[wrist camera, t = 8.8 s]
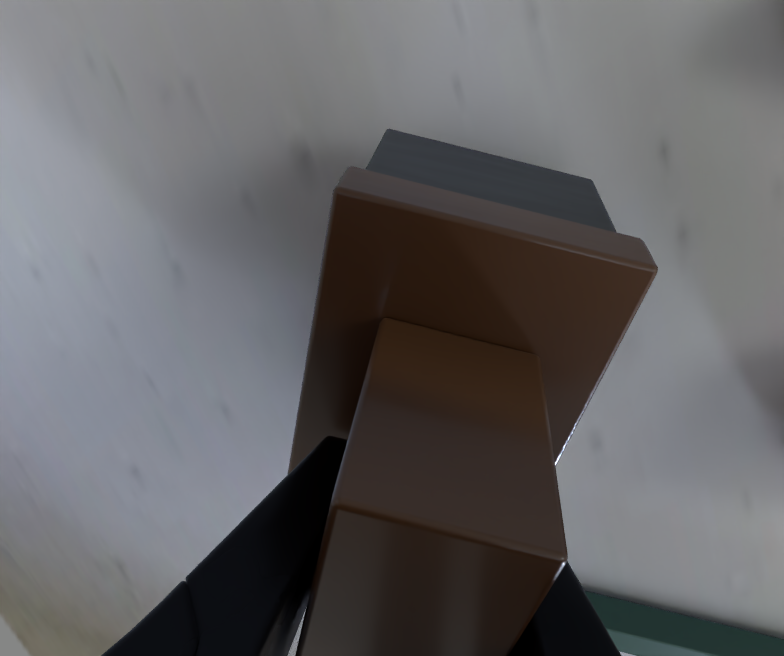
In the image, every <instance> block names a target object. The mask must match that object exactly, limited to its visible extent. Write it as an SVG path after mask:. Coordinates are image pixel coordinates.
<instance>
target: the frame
mask: <svg viewBox="0 0 784 656" xmlns="http://www.w3.org/2000/svg"><path fill="white" fill-rule="evenodd" d="M585 593H586V595H587V597H588V598H589V600H590V602H591V604H592V605H593V607H594V609H595V611H596V612H597V614H598V616H599V618H600V619H601V621H602V623H603V624H604V626H605V628H606V630H607V631H608V633H609V635H610V637H611V638H612V640H613V642H614V644H615V645H616V647H617V649H618V651H620V652H624V653H628V654H632V655H637V656H784V639H780V638H776V637H772V636H768V635H764V634H760V633H756V632H752V631H748V630H743V629H739V628H735V627H731V626H727V625H723V624H719V623H715V622H711V621H707V620H702V619H698V618H694V617H690V616H686V615H682V614H678V613H674V612H670V611H666V610H662V609H657V608H653V607H649V606H645V605H641V604H637V603H633V602H629V601H625V600H621V599H616V598H612V597H608V596H604V595H600V594H596V593H592V592H588V591H585Z"/></svg>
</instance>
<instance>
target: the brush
mask: <svg viewBox="0 0 784 656" xmlns="http://www.w3.org/2000/svg"><path fill="white" fill-rule="evenodd" d="M657 272H658V267H657V265H656V263H655V261H654V260H653V258H652V256H651V254H650V252H649V250H648V249H647V247H646V245H645V243H644V241H643V240H641V239H640V238H636V237H632V236H628V235H624V234H620V233H617V232H616V230H615V228H614V226H613V224H612V221H611V219H610V217H609V215H608V213H607V211H606V209H605V207H604V204H603V202H602V200H601V198H600V196H599V194H598V192H597V189H596V187H595V185H594V183H593V181H592V180H591V179H587V178H583V177H579V176H575V175H571V174H567V173H563V172H559V171H555V170H551V169H547V168H543V167H539V166H535V165H531V164H527V163H523V162H519V161H515V160H511V159H507V158H503V157H499V156H495V155H491V154H487V153H483V152H479V151H475V150H471V149H467V148H463V147H460V146H456V145H452V144H448V143H444V142H440V141H436V140H432V139H428V138H424V137H420V136H416V135H412V134H408V133H404V132H400V131H396V130H392V129H387V130H386V132H385V133H384V135H383V137H382V139H381V141H380V143H379V145H378V147H377V149H376V150H375V152H374V154H373V156H372V158H371V160H370V162H369V164H368V166H367V168H366V169H361V168H357V167H353V166H352V167H348V168H347V169H346V171H345V172H344V174H343V176H342V177H341V179H340V180H339V182H338V184H337V185H336V187H335V189H334V190H333V196H332V202H331V208H330V214H329V220H328V227H327V233H326V239H325V245H324V251H323V258H322V264H321V270H320V276H319V283H318V289H317V295H316V301H315V307H314V314H313V320H312V326H311V332H310V339H309V345H308V351H307V357H306V363H305V370H304V376H303V382H302V388H301V394H300V401H299V407H298V413H297V419H296V426H295V432H294V438H293V444H292V450H291V457H290V463H289V469H288V474H289V473H290V472H291V471H292V470H293V469H294V468H295V467H296V466H297V465H298V464H299V463H300V462H301V461H302V460H303V459H304V458H305V457H306V456H307V455H308V454H309V453H310V452H311V451H312V450H313V449H314V448H315V447H316V446H317V445H318V444H319V443H320V442H321V441H322V440H323V439H324V438H325V437H327V436H334V437H338V438H342V439H346V440H347V444H346V448H345V451H344V455H343V459H342V462H341V466H340V470H339V473H338V477H337V481H336V484H335V488H334V491H333V495H332V499H331V503H330V507H329V512H328V516H327V520H326V525H325V529H324V533H323V538H322V542H321V546H320V551H319V555H318V560H317V564H316V568H315V573H314V577H313V581H312V586H311V590H310V594H309V599H308V603H307V608H306V612H305V616H304V621H303V625H302V629H301V634H300V638H299V642H298V647H297V651H296V655H295V656H509V654H510V653H511V651H512V649H513V648H514V646H515V645H516V643H517V641H518V640H519V638H520V637H521V635H522V633H523V632H524V630H525V629H526V627H527V625H528V624H529V622H530V621H531V619H532V617H533V616H534V614H535V612H536V611H537V609H538V608H539V606H540V604H541V603H542V601H543V600H544V598H545V596H546V595H547V593H548V592H549V590H550V588H551V587H552V585H553V584H554V582H555V580H556V579H557V577H558V576H559V574H560V572H561V571H562V569H563V568H564V566H565V564H566V562H567V559H568V556H567V547H566V540H565V533H564V526H563V519H562V511H561V504H560V497H559V490H558V483H557V476H556V468H555V466H556V464H557V462H558V461H559V459H560V457H561V455H562V453H563V451H564V449H565V447H566V445H567V443H568V441H569V440H570V438H571V436H572V434H573V432H574V430H575V428H576V426H577V424H578V422H579V421H580V419H581V417H582V415H583V413H584V411H585V409H586V407H587V405H588V403H589V402H590V400H591V398H592V396H593V394H594V392H595V390H596V388H597V386H598V384H599V382H600V381H601V379H602V377H603V375H604V373H605V371H606V369H607V367H608V365H609V363H610V362H611V360H612V358H613V356H614V354H615V352H616V350H617V348H618V346H619V344H620V343H621V341H622V339H623V337H624V335H625V333H626V331H627V329H628V327H629V325H630V323H631V322H632V320H633V318H634V316H635V314H636V312H637V310H638V308H639V306H640V304H641V303H642V301H643V299H644V297H645V295H646V293H647V291H648V289H649V287H650V285H651V284H652V282H653V280H654V278H655V276H656V274H657Z"/></svg>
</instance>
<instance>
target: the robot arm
mask: <svg viewBox="0 0 784 656" xmlns="http://www.w3.org/2000/svg"><path fill="white" fill-rule="evenodd" d="M346 444H347V440H346V439H342V438H338V437H334V436H327V437H325V438H324V439H323V440H322V441H321V442H320V443H319V444H318V445H317V446H316V447H315V448H314V449H313V450H312V451H311V452H310V453H309V454H308V455H307V456H306V457H305V458H304V459H303V460H302V461H301V462H300V463H299V464H298V465H297V466H296V467H295V468H294V469H293V470H292V471H291V472H290V473H289V474H288V475H287V476H286V477H285V478H284V479H283V480H282V481H281V482H280V483H279V484H278V485H277V486H276V487H275V488H274V489H273V490H272V491H271V492H270V493H269V494H268V495H267V496H266V497H265V498H264V499H263V500H262V501H261V502H260V503H259V504H258V505H257V506H256V507H255V508H254V509H253V510H252V511H251V512H250V513H249V514H248V515H247V516H246V517H245V518H244V519H243V520H242V521H241V522H240V523H239V525H238V526H237V527H236V528H235V529H234V530H233V531H232V532H231V533H230V534H229V535H228V536H227V537H226V538H225V539H224V540H223V541H222V542H221V543H220V544H219V545H218V546H217V547H216V548H215V549H214V550H213V551H212V552H211V553H210V554H209V555H208V556H207V557H206V558H205V559H204V560H203V561H202V562H201V563H200V564H199V565H198V566H197V567H196V568H195V569H194V570H193V571H192V572H191V573H190V574H189V575H188V576H187V577H186V582H185V581H182V582H180V583H179V584H178V585H177V586H176V587H175V588H174V589H173V590H172V591H171V592H170V593H169V594H168V595H167V596H166V597H165V598H164V600H163V601H161V602H160V603H159V604H158V605H157V606H156V607H155V608H154V609H153V610H152V611H151V612H150V613H149V614H148V615H147V616H146V617H145V618H144V619H142V620H141V621H140V622H139V623H138V624H137V625H136V626H135V627H134V628H133V629H132V630H131V631H130V632H128V633H127V634H126V635H125V636H124V637H123V638H121V639H120V640H119V641H118V642H117V643H115V644H114V645H113V646H112V647H111V648H110V649H108V650H107V651H106V652H105V653H104V654H103V655H101V656H287V655H288V653H289V650H290V647H291V645H292V642H293V640H294V637H295V635H296V632H297V630H298V627H299V624H300V622H301V619H302V617H303V614H304V612H305V609H306V607H307V603H308V599H309V594H310V590H311V586H312V581H313V577H314V573H315V568H316V564H317V560H318V555H319V551H320V546H321V542H322V538H323V533H324V529H325V525H326V520H327V516H328V512H329V507H330V503H331V499H332V495H333V491H334V488H335V484H336V481H337V477H338V473H339V470H340V466H341V462H342V459H343V455H344V451H345V448H346ZM509 656H621V654H620V652H619V651H618V649H617V647H616V645H615V644H614V642H613V640H612V638H611V637H610V635H609V633H608V631H607V630H606V628H605V626H604V624H603V623H602V621H601V619H600V618H599V616H598V614H597V612H596V611H595V609H594V607H593V605H592V604H591V602H590V600H589V598H588V597H587V595H586V593H585V591H584V590H583V588H582V586H581V584H580V583H579V581H578V579H577V577H576V576H575V574H574V572H573V570H572V569H571V567H570V565H569V563H568V562H566V564H565V566H564V568H563V569H562V571H561V572H560V574H559V576H558V577H557V579H556V580H555V582H554V584H553V585H552V587H551V588H550V590H549V592H548V593H547V595H546V596H545V598H544V600H543V601H542V603H541V604H540V606H539V608H538V609H537V611H536V612H535V614H534V616H533V617H532V619H531V621H530V622H529V624H528V625H527V627H526V629H525V630H524V632H523V633H522V635H521V637H520V638H519V640H518V641H517V643H516V645H515V646H514V648H513V649H512V651H511V653H510V654H509Z"/></svg>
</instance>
